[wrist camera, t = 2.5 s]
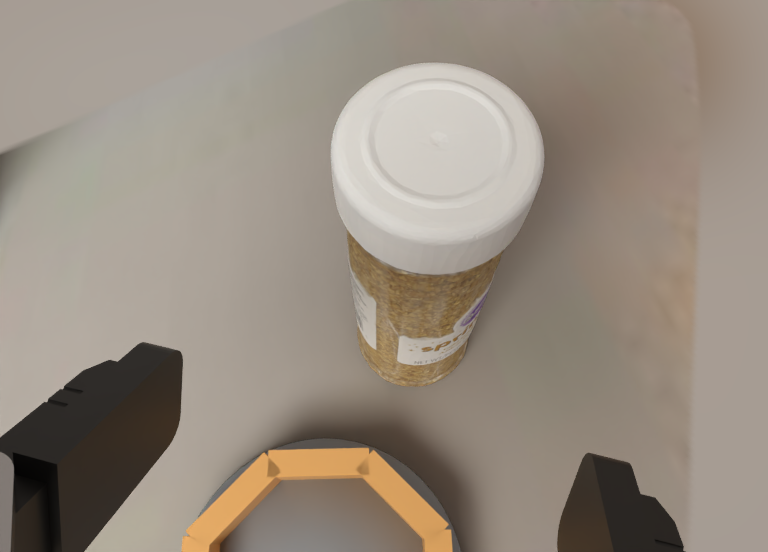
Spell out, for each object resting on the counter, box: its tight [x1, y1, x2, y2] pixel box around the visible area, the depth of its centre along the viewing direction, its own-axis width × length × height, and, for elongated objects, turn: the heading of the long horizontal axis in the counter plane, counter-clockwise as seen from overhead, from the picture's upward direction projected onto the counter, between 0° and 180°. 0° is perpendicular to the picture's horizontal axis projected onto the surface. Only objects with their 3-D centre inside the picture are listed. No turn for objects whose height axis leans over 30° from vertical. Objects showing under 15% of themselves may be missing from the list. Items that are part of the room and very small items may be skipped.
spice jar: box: [331, 62, 544, 386], centre depth 19 cm, size 5×5×13 cm
